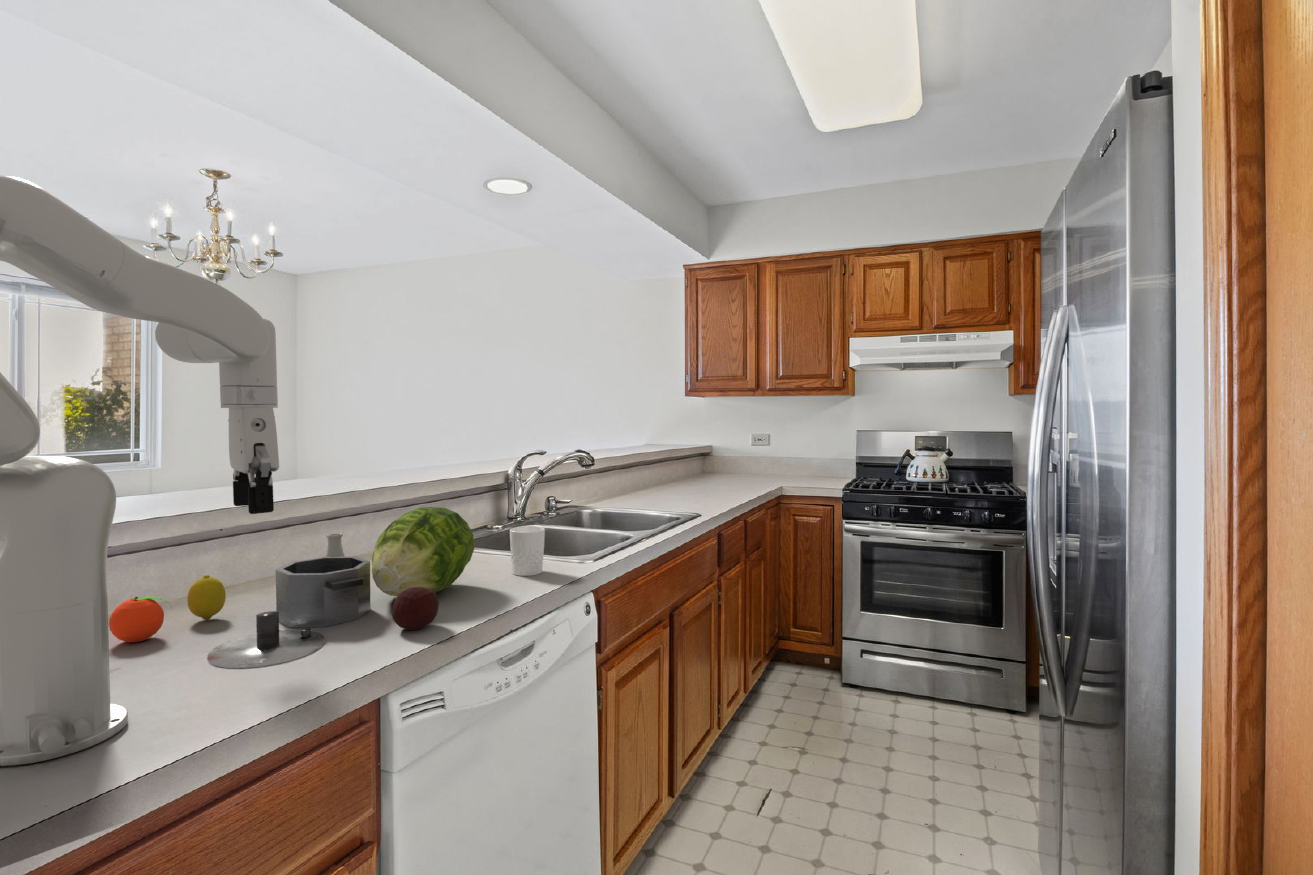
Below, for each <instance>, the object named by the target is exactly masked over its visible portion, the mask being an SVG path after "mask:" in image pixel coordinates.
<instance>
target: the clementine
mask: <svg viewBox="0 0 1313 875" xmlns="http://www.w3.org/2000/svg"><path fill="white" fill-rule="evenodd" d="M154 599H155V600H154ZM156 600H160V601H164V602H165V603H167V604H169V606H170V608H171V609H173V607H172V606H171V604H170V603H169V602H168V601H167V600H165V599H163V598H161V597H156V596H142V597H139V596H135V597H133V598H130V599H126V600H125V601H123V602H122V603H120V604H118V605H117V606H116V607H115V609H114V610H113V611H112V612H111V615H110V617H109V619H108V628H109V630H110V632H111V634H112V635H113V637H115V638H116V639H117V640H119V641H122V642H125V643H139V642H143V641H145V640H148V639H150V638H152V637H153V636H154V635H155V634H157V632H159V630H160V629H161V627H162V625H163V624H164V619H165V613H164V609H163V606H162V605H161V604H160V603H158V602H157V601H156Z"/></svg>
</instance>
